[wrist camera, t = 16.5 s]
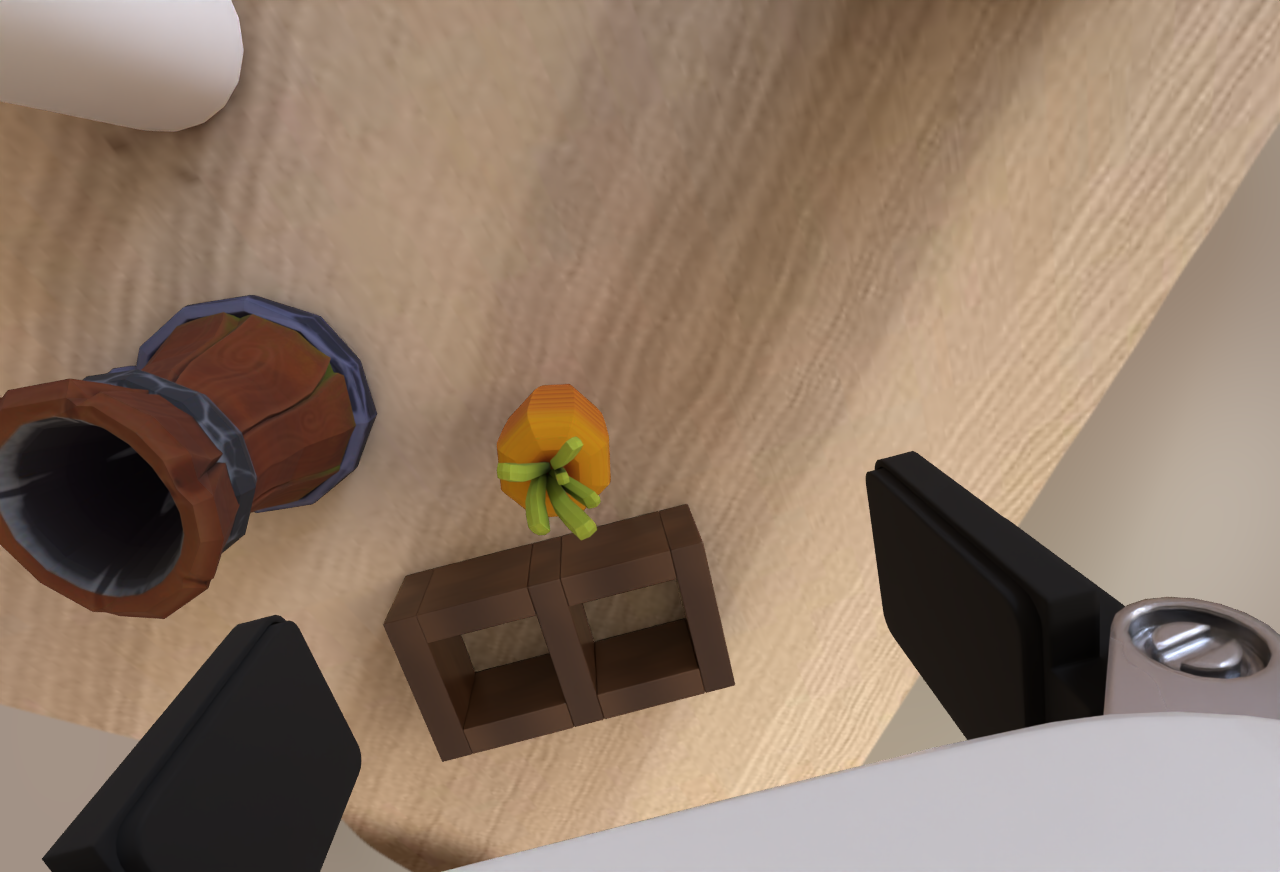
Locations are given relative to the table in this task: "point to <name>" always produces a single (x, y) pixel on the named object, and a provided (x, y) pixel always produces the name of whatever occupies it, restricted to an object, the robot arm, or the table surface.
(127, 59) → the white bottle
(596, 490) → the carrot
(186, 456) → the mug
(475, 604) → the holder
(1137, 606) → the robot arm
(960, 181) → the table surface
